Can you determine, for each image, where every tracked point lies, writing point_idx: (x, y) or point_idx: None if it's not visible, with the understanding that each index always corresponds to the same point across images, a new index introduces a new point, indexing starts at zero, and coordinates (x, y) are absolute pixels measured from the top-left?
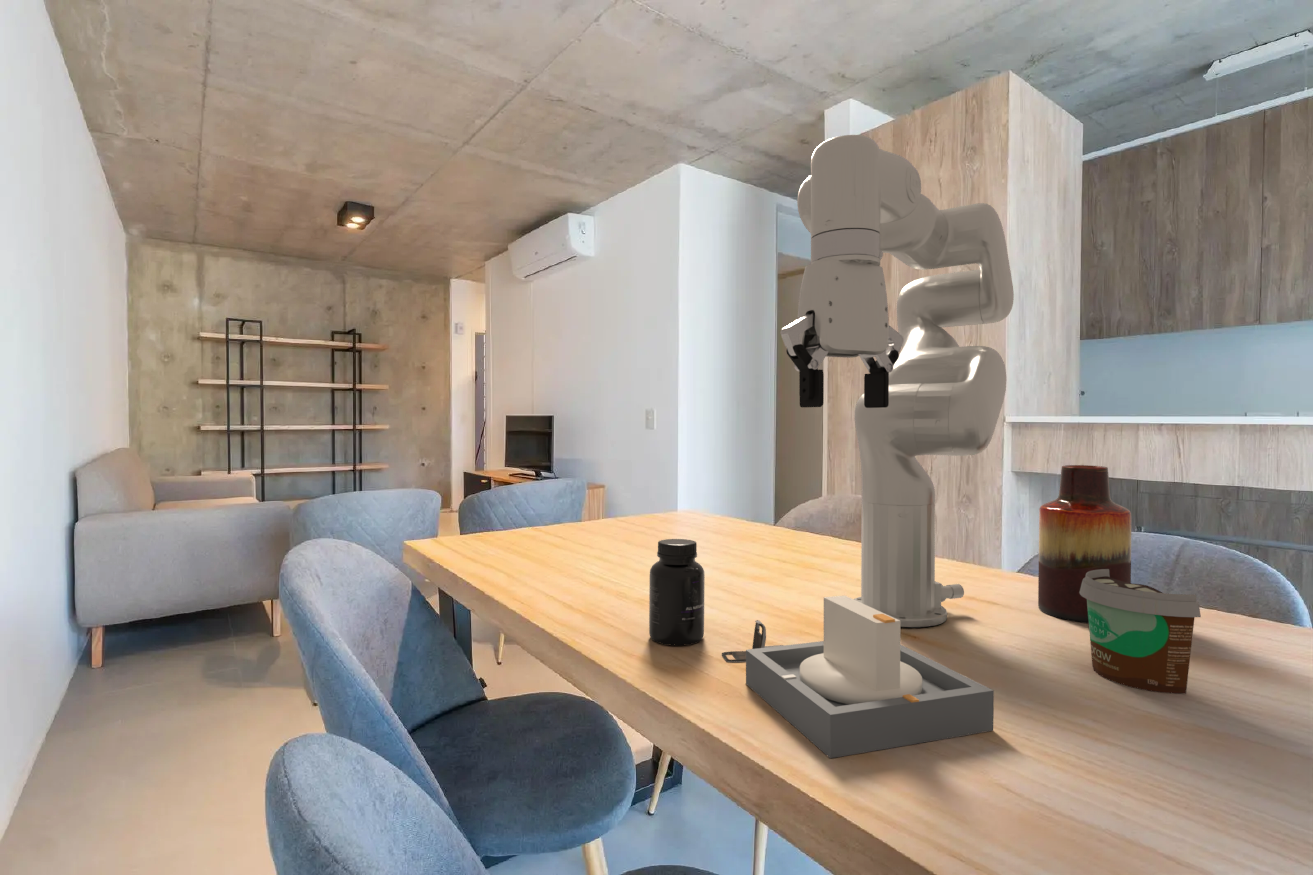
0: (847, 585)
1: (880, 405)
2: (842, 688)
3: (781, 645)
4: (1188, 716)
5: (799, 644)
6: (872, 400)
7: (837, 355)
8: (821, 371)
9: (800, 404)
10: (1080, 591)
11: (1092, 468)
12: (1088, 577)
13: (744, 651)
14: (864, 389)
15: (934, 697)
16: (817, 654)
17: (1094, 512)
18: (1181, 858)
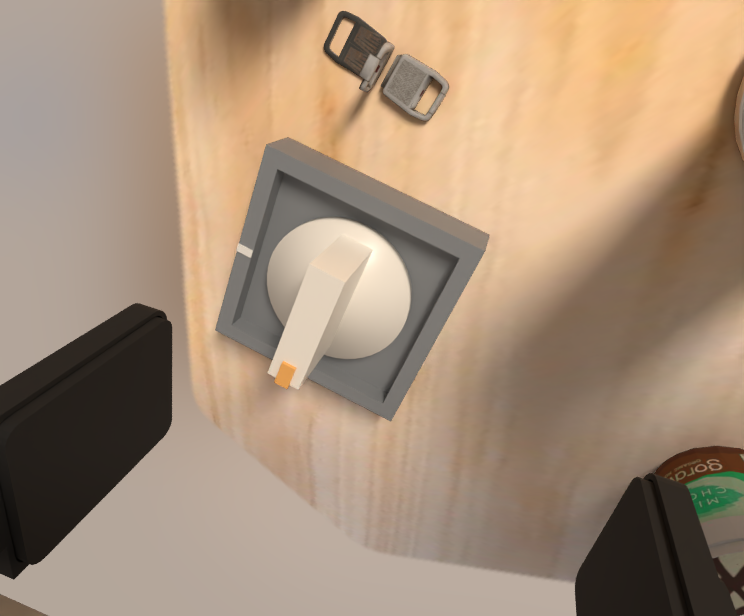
0: None
1: (583, 568)
2: (278, 304)
3: (432, 75)
4: (585, 522)
5: (345, 186)
6: (609, 554)
7: None
8: (13, 564)
9: (134, 309)
10: (738, 519)
11: None
12: (730, 553)
13: (376, 34)
14: (659, 575)
15: (326, 384)
16: (343, 222)
17: None
18: (317, 506)
